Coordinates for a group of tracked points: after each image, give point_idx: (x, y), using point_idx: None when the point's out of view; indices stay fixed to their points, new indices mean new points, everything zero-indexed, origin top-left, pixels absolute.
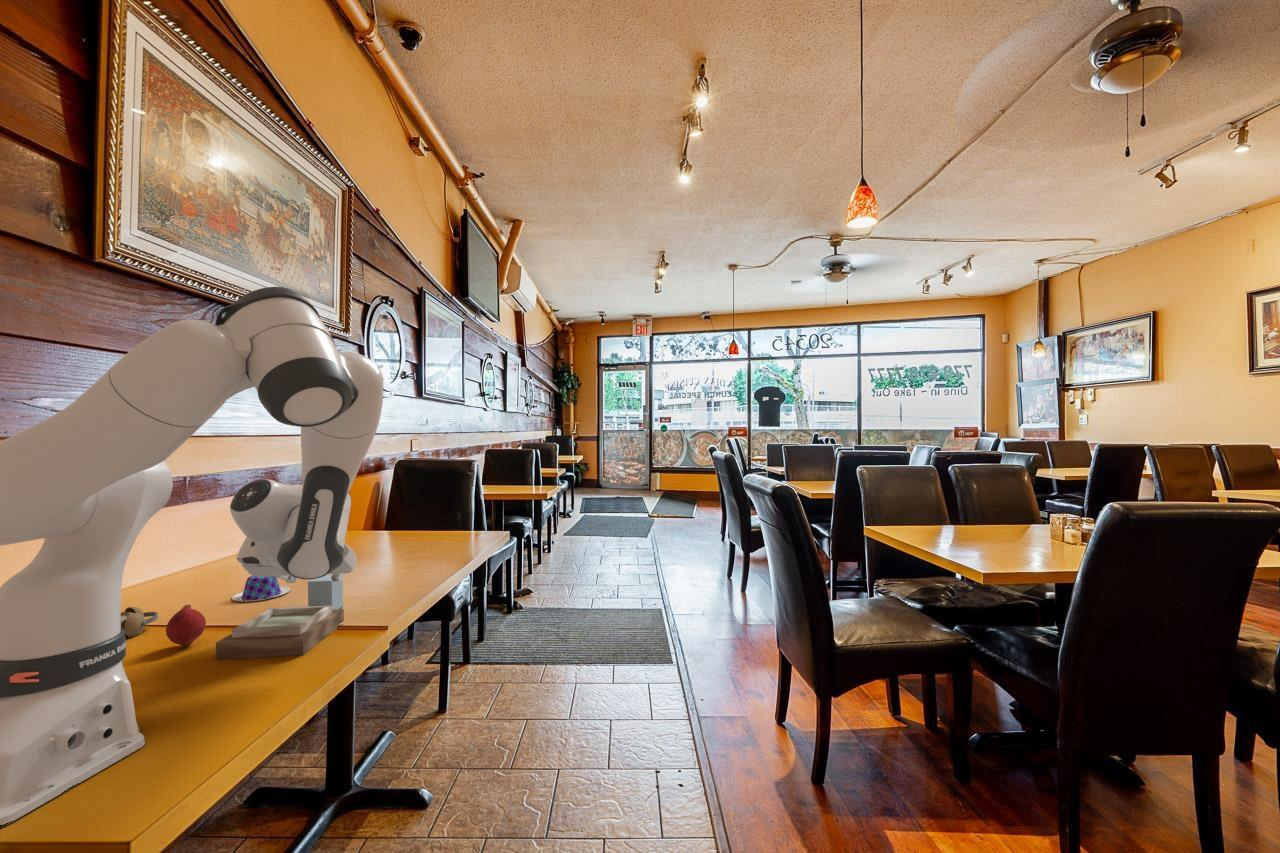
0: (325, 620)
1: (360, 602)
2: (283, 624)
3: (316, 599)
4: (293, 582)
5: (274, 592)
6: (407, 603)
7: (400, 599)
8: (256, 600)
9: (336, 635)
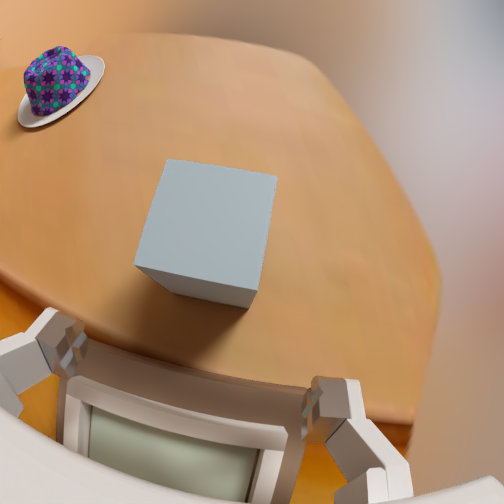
0: (283, 493)
1: (298, 186)
2: None
3: (189, 290)
4: (82, 356)
5: (75, 87)
6: (429, 243)
7: (401, 199)
8: (46, 123)
9: (306, 476)
